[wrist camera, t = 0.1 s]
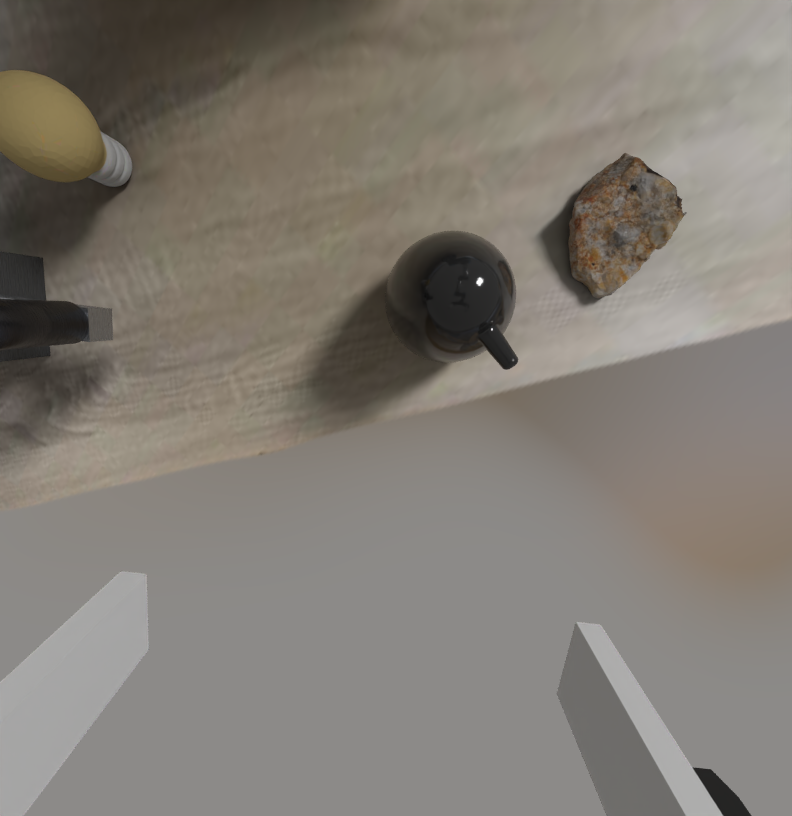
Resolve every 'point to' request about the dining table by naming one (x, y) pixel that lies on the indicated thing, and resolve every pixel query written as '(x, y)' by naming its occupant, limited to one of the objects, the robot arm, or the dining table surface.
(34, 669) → the robot arm
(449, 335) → the pump dispenser
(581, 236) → the rock
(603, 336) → the dining table surface
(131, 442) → the dining table surface
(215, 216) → the dining table surface
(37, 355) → the bearing block
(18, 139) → the light bulb
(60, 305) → the shaft
